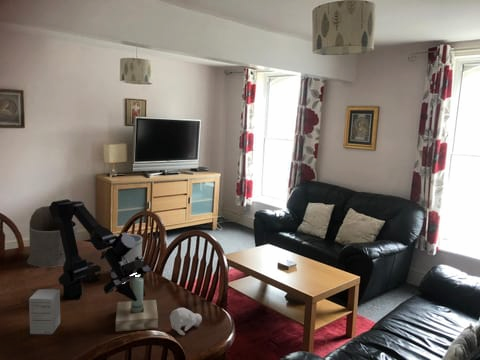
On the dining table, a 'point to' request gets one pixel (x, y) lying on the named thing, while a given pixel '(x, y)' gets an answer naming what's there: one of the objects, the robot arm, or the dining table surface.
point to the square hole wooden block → (136, 316)
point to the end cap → (92, 272)
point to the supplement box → (44, 311)
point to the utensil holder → (132, 250)
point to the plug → (137, 295)
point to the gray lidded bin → (46, 239)
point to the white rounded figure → (184, 319)
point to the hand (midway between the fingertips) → (140, 298)
